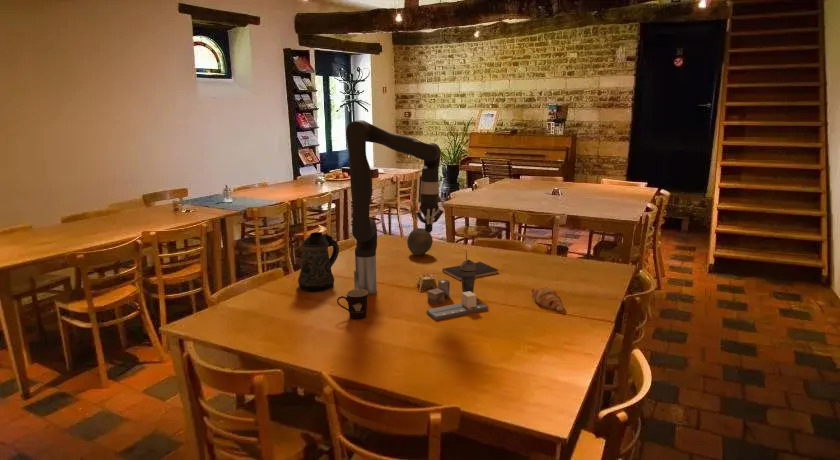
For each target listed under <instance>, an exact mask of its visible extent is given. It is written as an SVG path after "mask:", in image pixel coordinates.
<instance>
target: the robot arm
mask: <svg viewBox="0 0 840 460" xmlns="http://www.w3.org/2000/svg"><path fill="white" fill-rule="evenodd" d="M345 137H346V142H347V148H348V154H349V158H348V159H349V181H350V193H351V205H352V220H351V221H352V223H351V232H352V236H353V238H354V239H355V241H356V246H355V248H354V263H355V264H354V267H355V270H354V271H353V277H354V280H353V283H354V289H363V290H367V291H368V296H369V295H373V294H376V293H377V292H378V291H377V290H378V284H377V280H378V279H377V247H378V226H377V223H376V222H375V221H374V220H373V219H371V216H370V206H371V200H372V195H373V174H372V170H371V166H370V164H369V161H368V157H367V143H374V144H379V145H381V146H384V147H386V148H389V149H391V150H393V151H395V152H398V153H401V154H404V155H409V156H413V157H415V158H417V159H419V160H421V161H423V167H422V169H421V184H420V196H419V197H420V198H419V202H420V205H419V209H418V210H415V211H414V215H415V216H416V218H418V219H419V221H420V222H421V223H423V224H424V229H425V231H426V232H427V233H430V234H431V233H432V232H433V224H435V223H437V222H438V220H439V219H440V217H442V215H443V213H444V210H442V209H441V208H440V206H439V195H440V194H439V193H440V189H439V188H440V187H439V169H440V168H439V167H440V162H441V156H442V155H441V154H442V153H441V152H442V151H441V149H440V146H439V144H437V143H434V142H429V143H427V142H426V143H425V142H424V141H419V140H418V139H417V138H414V137H412V136H411V137H410V136H407V135H404V134H399V133H396V132H392V131H389V130H386V129H383V128H380V127H378V126H375V125H374V124H371V123H369V122H368V121H365V120H363V119H358V120H352V121H350V122H349V123H348V124H347V126H346V129H345ZM422 214H423V215H422Z"/></svg>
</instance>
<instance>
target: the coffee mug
mask: <svg viewBox="0 0 840 460" xmlns="http://www.w3.org/2000/svg"><path fill="white" fill-rule="evenodd" d="M340 299H345V301H346V302H347V306H348V308H347V307H346V306H344V305H341V303H340V302H339V300H340ZM368 300H369V295H368V291H367V290H363V289H355V288H353V289H351V290H348V291H346V296H342V295H341V296H339V297H337V301H336V303H337V305H338V306H340V307H341V308H343V309H344V310H346V311H348V313H349V317H350V319H352V320H353V321H354V320H355V321H360V320H364V319H366V318H367V315H368V314H367V313H368V311H367V310H368V302H369V301H368Z"/></svg>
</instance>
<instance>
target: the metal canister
mask: <svg viewBox="0 0 840 460" xmlns="http://www.w3.org/2000/svg"><path fill="white" fill-rule="evenodd" d="M450 284H451V283H450V280H448V279H440V280H438V281H437V289H439V290H442V291H444V300H446V299H449V298H450V292H451V291H450V289H451V287H450Z"/></svg>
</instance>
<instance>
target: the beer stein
mask: <svg viewBox="0 0 840 460" xmlns="http://www.w3.org/2000/svg"><path fill="white" fill-rule="evenodd" d="M301 247H302V257H301V265H300V266H301V267H300V272H299V276H298V279H297V283H298V287H299V289H300V290H301V291H302V292H306V293H317V292H319V293H321V292H325V291H329V290H331V289H332V288H334V286H335V285H334V283H335V277H334V275H333V274H334V273H333V272H332V267H333V265H334V264H335V263H336V261H337V259H338V256H339V253H340V247H339V244H338V241H336V240H334V239H333V237H332V235H331V236H330V235H328V234H323V233H322V232H318V231H316V232H311V233H310V234H309V236H307V238H306V239H305V240H303V241H302V243H301ZM329 247H332V253H331V255H330V254H329Z"/></svg>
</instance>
